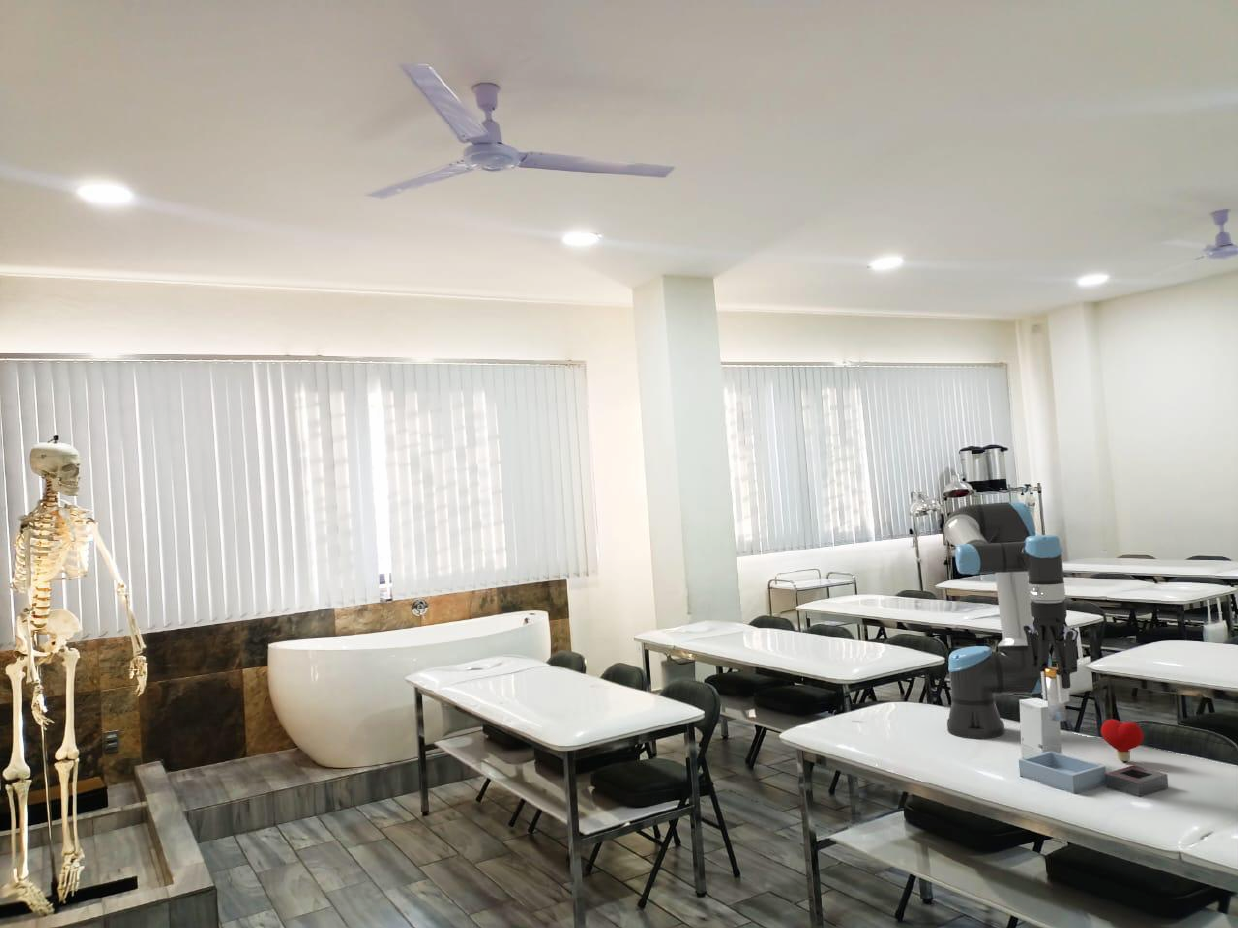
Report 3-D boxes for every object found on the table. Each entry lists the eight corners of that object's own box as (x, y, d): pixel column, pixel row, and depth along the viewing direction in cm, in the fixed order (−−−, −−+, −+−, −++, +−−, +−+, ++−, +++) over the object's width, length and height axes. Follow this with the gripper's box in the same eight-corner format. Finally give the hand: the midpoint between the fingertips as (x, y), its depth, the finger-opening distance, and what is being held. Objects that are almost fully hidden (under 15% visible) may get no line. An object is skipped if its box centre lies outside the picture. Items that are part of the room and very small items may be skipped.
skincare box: (1021, 757, 224) (1016, 699, 224) (1041, 754, 225) (1036, 696, 226) (1044, 767, 216) (1039, 706, 216) (1065, 763, 217) (1060, 703, 218)
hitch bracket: (1105, 786, 200) (1104, 773, 200) (1134, 777, 204) (1133, 765, 204) (1139, 796, 193) (1138, 783, 193) (1168, 787, 197) (1167, 774, 197)
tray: (1020, 776, 211) (1018, 759, 211) (1052, 767, 215) (1050, 750, 215) (1073, 793, 197) (1072, 775, 197) (1107, 783, 202) (1105, 766, 202)
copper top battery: (1045, 719, 207) (1041, 668, 208) (1056, 716, 209) (1051, 666, 209) (1058, 722, 204) (1054, 670, 205) (1069, 719, 206) (1065, 668, 206)
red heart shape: (1099, 762, 216) (1095, 721, 217) (1108, 754, 221) (1104, 715, 222) (1141, 769, 210) (1137, 727, 210) (1149, 761, 215) (1146, 720, 215)
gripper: (1007, 599, 214) (1015, 696, 213) (1067, 605, 198) (1076, 709, 198) (1029, 596, 217) (1037, 691, 216) (1090, 601, 202) (1099, 704, 201)
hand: (1056, 699), depth 207 cm, fingers closed on copper top battery, 4 cm apart
